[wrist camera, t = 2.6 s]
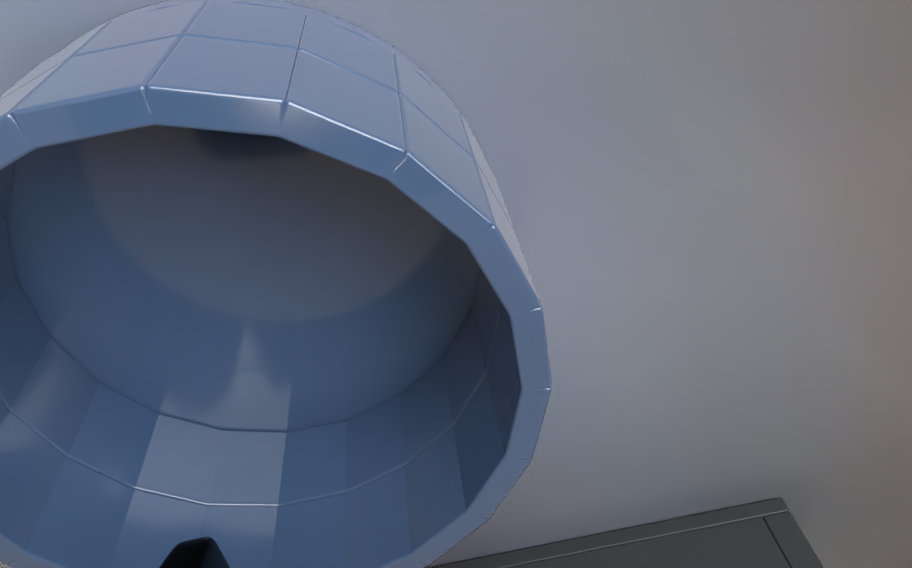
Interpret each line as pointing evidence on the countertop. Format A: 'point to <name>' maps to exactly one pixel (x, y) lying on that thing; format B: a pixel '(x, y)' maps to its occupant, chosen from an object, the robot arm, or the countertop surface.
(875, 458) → the countertop surface
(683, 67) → the countertop surface
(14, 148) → the rice bowl
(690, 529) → the tote
